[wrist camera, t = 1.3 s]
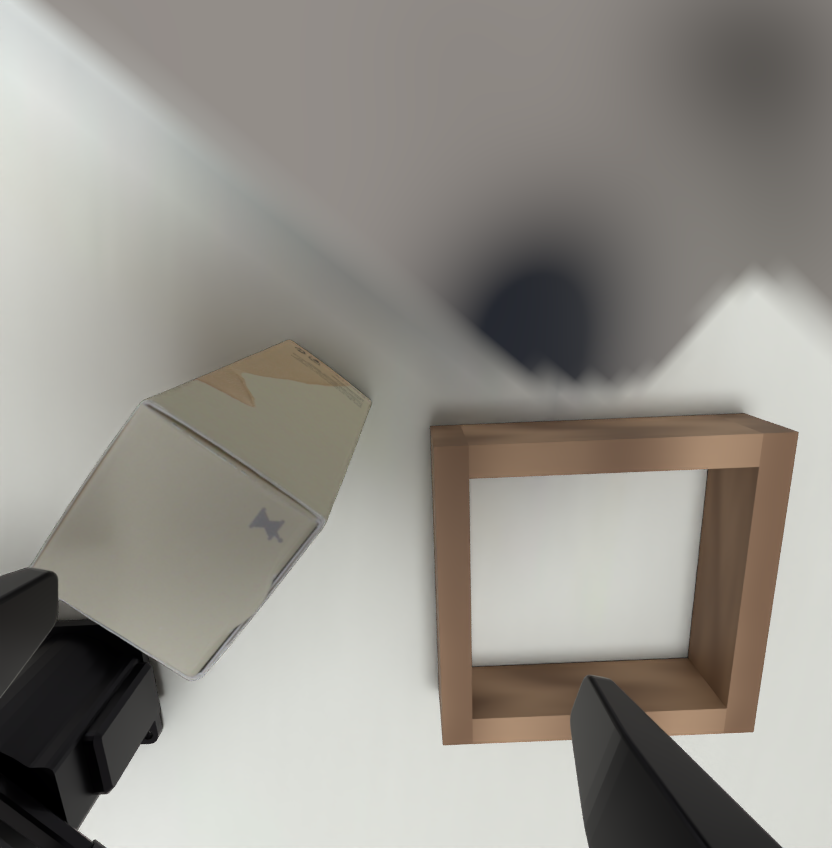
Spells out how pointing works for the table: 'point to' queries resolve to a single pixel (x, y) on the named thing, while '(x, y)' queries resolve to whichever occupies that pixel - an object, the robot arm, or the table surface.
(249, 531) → the box
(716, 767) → the table surface
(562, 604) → the table surface
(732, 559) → the brown square frame
